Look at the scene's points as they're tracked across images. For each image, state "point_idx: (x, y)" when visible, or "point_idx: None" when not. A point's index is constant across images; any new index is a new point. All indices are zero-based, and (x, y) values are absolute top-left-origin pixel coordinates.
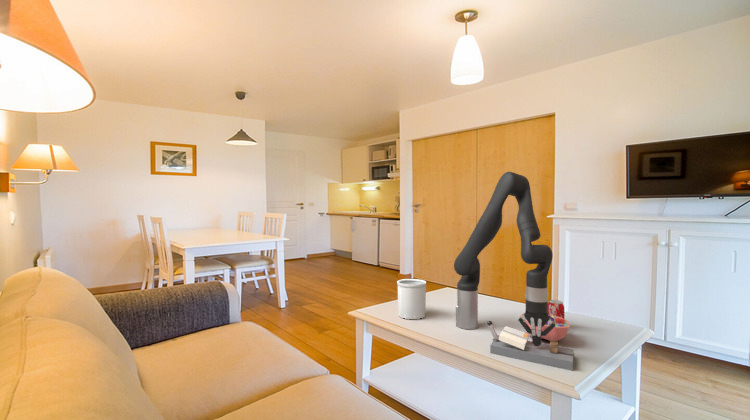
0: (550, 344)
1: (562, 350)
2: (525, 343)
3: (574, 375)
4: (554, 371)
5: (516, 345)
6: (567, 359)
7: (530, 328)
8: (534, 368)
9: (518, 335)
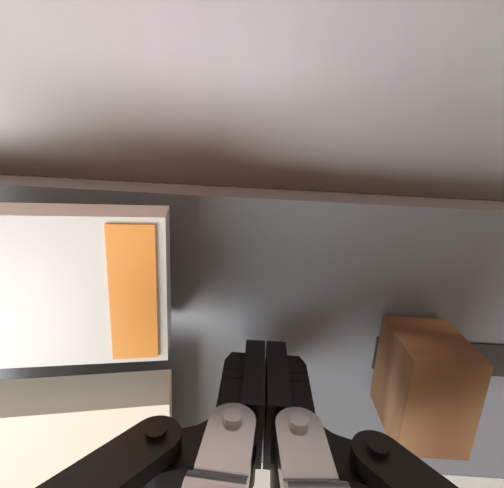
0: None
1: (482, 296)
2: None
3: (475, 477)
4: None
5: None
6: (487, 456)
7: (165, 451)
8: (261, 483)
9: (63, 361)
